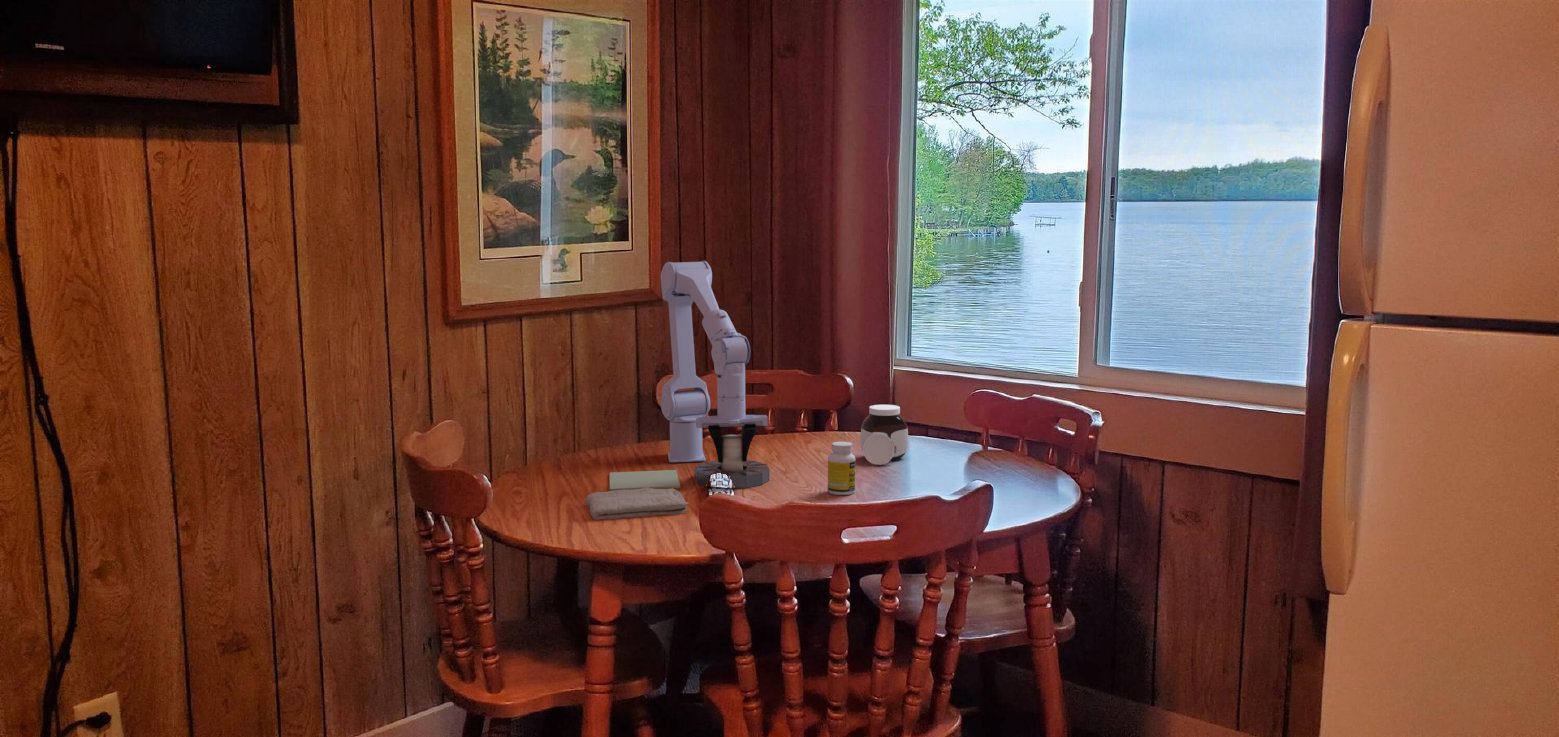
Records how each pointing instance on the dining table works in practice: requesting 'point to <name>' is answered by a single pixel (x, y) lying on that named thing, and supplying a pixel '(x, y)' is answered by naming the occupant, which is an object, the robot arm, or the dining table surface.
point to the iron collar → (735, 473)
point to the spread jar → (884, 434)
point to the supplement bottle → (841, 469)
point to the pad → (644, 480)
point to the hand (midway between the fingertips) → (732, 461)
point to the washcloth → (635, 503)
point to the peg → (732, 452)
